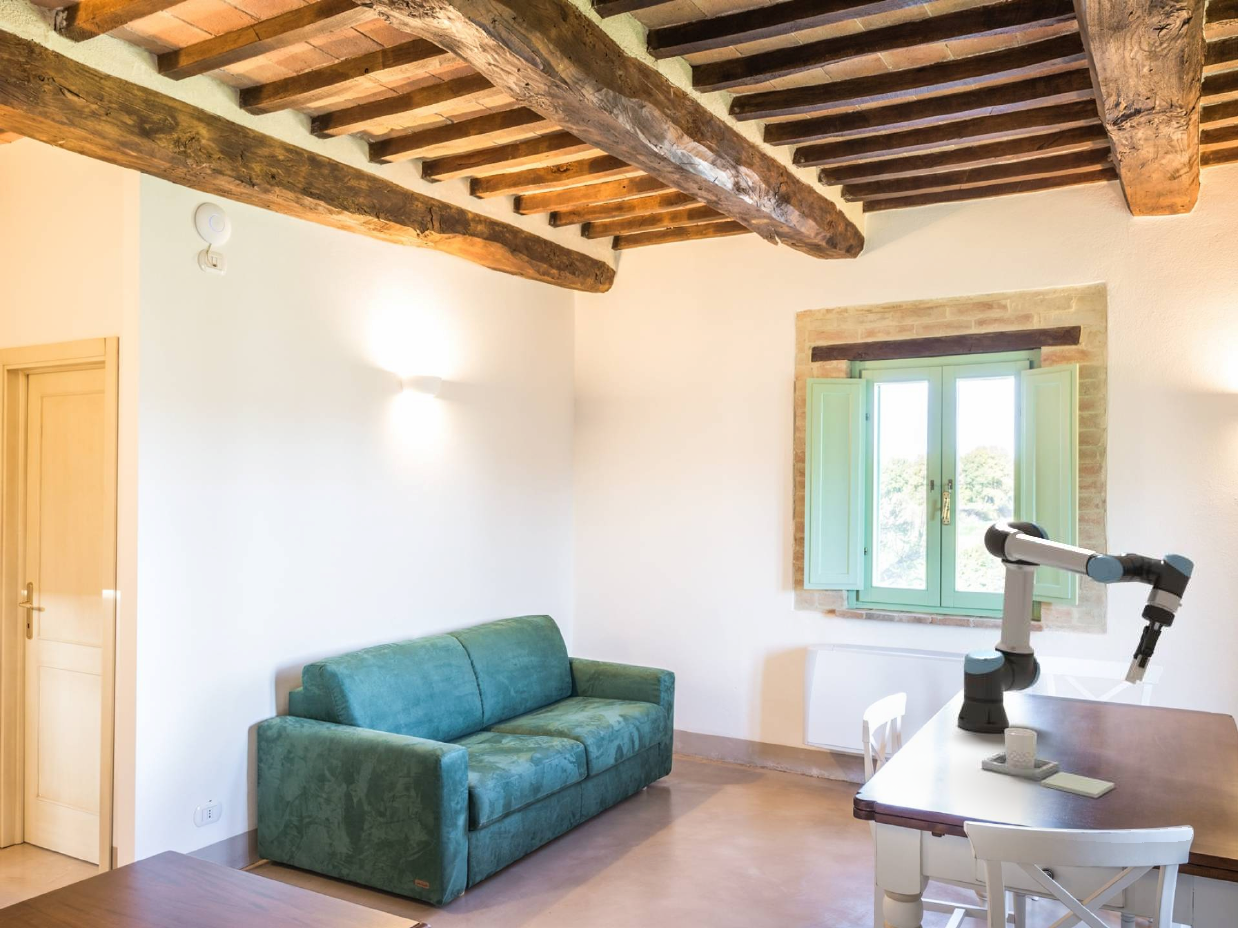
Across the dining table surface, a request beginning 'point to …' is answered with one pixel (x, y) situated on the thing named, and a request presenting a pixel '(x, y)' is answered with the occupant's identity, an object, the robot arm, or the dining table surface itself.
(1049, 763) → the square frame
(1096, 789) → the sage tile
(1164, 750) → the dining table surface
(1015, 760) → the white cup
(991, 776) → the dining table surface
